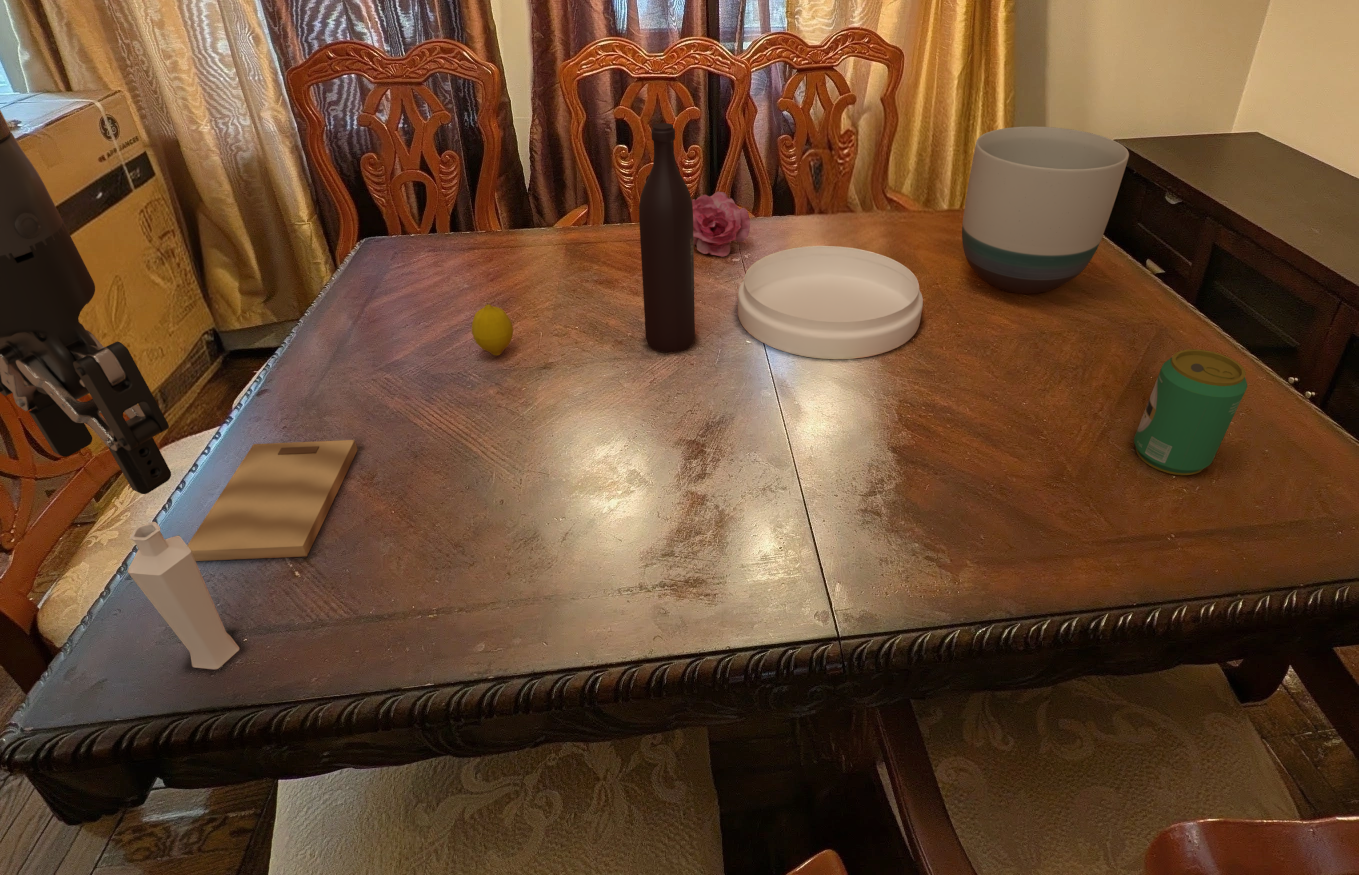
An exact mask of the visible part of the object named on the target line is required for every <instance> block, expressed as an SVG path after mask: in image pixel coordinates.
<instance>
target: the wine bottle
mask: <svg viewBox="0 0 1359 875" xmlns="http://www.w3.org/2000/svg"><path fill="white" fill-rule="evenodd" d="M650 133H651V141H653V162H652V167H651V170H650V172H649V174H648V177H647V179H646V180H645V183H644V186H643V187H642V191H641V193H640V198H639V205H638V211H639V212H638V221H639V223H638V224H639V240H640V255H641V256H640V257H641V275H642V277H641V278H642V293H643V294H642V295H643V311H644V325H645V326H644V328H645V329H644V330H645V340H646V343H647V345H648V347H649V348H650V349H652V350H654V351H657V352H661V353H678V352H682V351H685V350H687V349H689V348H691V347H692V346H693V344H694V342H695V340H696V317H695V314H696V312H695V306H696V305H695V247H694V246H695V245H694V237H693V206H692V200H693V199H692V196H691V193H690V190H689V187H688V186H687V183H686V182H685V180H684V178H683V176H682V175H681V172H680V170H679V168H678V166H677V164H676V156H675V144H674V142H675V140H676V129H675V128H674V124H672V123H668V122H659V123H656V124H653V125H652V129H651V132H650Z"/></svg>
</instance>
